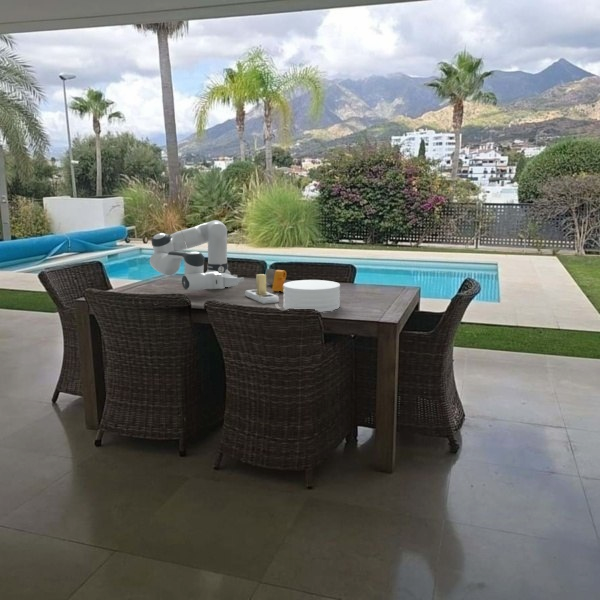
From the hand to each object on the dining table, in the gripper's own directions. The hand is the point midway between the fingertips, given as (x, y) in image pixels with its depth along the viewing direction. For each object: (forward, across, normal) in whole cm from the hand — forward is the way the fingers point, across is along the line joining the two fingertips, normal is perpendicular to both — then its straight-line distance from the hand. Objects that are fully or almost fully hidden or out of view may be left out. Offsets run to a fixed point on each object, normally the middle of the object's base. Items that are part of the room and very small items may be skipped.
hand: (240, 277), depth 300 cm
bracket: (+32, -16, -13) cm, 38 cm away
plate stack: (+26, +30, -13) cm, 41 cm away
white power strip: (+12, 0, -12) cm, 17 cm away
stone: (+36, -34, -13) cm, 51 cm away
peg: (+12, 0, -12) cm, 17 cm away
